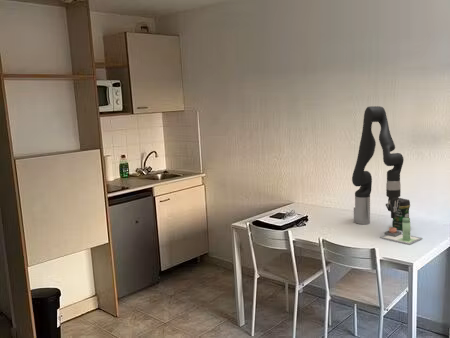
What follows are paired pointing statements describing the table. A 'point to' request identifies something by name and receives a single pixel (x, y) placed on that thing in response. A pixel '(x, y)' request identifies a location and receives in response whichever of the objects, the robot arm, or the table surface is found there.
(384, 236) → the board
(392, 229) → the button
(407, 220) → the marker
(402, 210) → the coffee jar
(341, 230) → the table surface
